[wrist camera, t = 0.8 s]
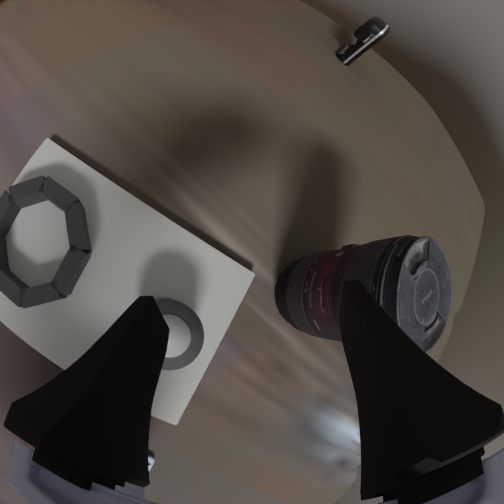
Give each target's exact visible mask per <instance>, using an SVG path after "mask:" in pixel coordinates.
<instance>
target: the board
mask: <svg viewBox="0 0 504 504" xmlns="http://www.w3.org/2000/svg"><path fill="white" fill-rule="evenodd" d="M254 276H255V274H254V273H253V272H251V271H250V270H248V269H246V268H245V267H243V266H242V265H240V264H239V263H237V262H235V261H234V260H232V259H231V258H229V257H227V256H226V255H224V254H223V253H221V252H220V251H218V250H216V249H215V248H213V247H212V246H210V245H208V244H207V243H205V242H204V241H202V240H201V239H199V238H198V237H196V236H194V235H193V234H191V233H190V232H188V231H187V230H185V229H183V228H182V227H180V226H179V225H177V224H176V223H174V222H173V221H171V220H170V219H168V218H166V217H165V216H163V215H162V214H160V213H159V212H157V211H156V210H154V209H153V208H151V207H150V206H148V205H147V204H145V203H144V202H142V201H140V200H139V199H137V198H136V197H134V196H133V195H131V194H130V193H128V192H127V191H125V190H124V189H122V188H121V187H119V186H118V185H116V184H115V183H113V182H112V181H110V180H109V179H107V178H106V177H104V176H103V175H101V174H100V173H98V172H97V171H95V170H94V169H92V168H91V167H89V166H88V165H86V164H85V163H84V162H82V161H81V160H79V159H78V158H76V157H75V156H73V155H72V154H70V153H69V152H67V151H66V150H64V149H63V148H62V147H60V146H59V145H57V144H56V143H54V142H53V141H51V140H50V139H49V138H47V139H46V140H45V141H44V142H43V143H42V145H41V146H40V147H39V148H38V150H37V151H36V152H35V154H34V155H33V156H32V158H31V159H30V160H29V162H28V163H27V164H26V166H25V167H24V169H23V170H22V172H21V173H20V174H19V176H18V177H17V179H16V180H15V182H14V184H13V185H12V186H10V187H9V191H8V192H7V191H6V190H5V191H4V193H3V195H2V196H1V198H0V321H1V322H2V323H3V324H4V325H6V326H7V327H8V328H9V329H10V330H11V331H12V332H14V333H15V334H16V335H17V336H18V337H20V338H21V339H22V340H23V341H25V342H26V343H27V344H29V345H30V346H31V347H32V348H34V349H35V350H36V351H38V352H39V353H40V354H42V355H43V356H45V357H46V358H47V359H49V360H50V361H52V362H53V363H55V364H56V365H58V366H59V367H61V368H62V369H64V370H66V369H67V368H68V367H69V366H71V365H72V364H73V363H74V362H75V361H76V360H78V359H79V358H80V357H81V356H82V355H83V354H84V353H85V352H86V351H87V350H88V349H89V348H90V347H91V346H92V345H93V344H94V343H95V342H96V341H97V340H98V339H99V338H100V337H101V336H102V335H103V334H104V333H105V332H106V331H107V330H108V329H109V328H110V327H111V325H112V324H113V323H114V322H115V321H116V320H117V319H118V318H119V317H120V316H121V315H122V314H123V313H124V312H125V310H126V309H127V308H128V307H129V306H130V305H131V304H132V303H133V302H134V301H135V300H136V299H137V298H138V297H139V296H153V297H154V298H157V297H168V298H172V299H174V300H177V301H179V302H181V303H183V304H185V305H187V306H188V307H190V308H191V309H192V310H193V311H194V312H195V313H196V314H197V316H198V317H199V319H200V321H201V323H202V325H203V330H204V342H203V346H202V349H201V351H200V353H199V355H198V356H197V358H196V359H195V360H194V361H193V362H192V363H190V364H189V365H187V366H185V367H183V368H181V369H177V370H161V373H160V377H159V380H158V384H157V387H156V391H155V395H154V399H153V404H152V410H151V416H153V417H156V418H158V419H161V420H163V421H166V422H169V423H171V424H174V425H177V423H178V421H179V420H180V418H181V416H182V414H183V412H184V410H185V408H186V406H187V405H188V403H189V401H190V399H191V397H192V395H193V393H194V391H195V390H196V388H197V386H198V384H199V382H200V380H201V378H202V376H203V375H204V373H205V371H206V369H207V367H208V365H209V363H210V361H211V359H212V357H213V355H214V354H215V352H216V350H217V348H218V346H219V344H220V342H221V340H222V338H223V336H224V334H225V332H226V331H227V329H228V327H229V325H230V323H231V321H232V319H233V317H234V315H235V313H236V311H237V309H238V307H239V305H240V303H241V301H242V300H243V298H244V296H245V294H246V292H247V290H248V288H249V286H250V284H251V282H252V280H253V278H254Z"/></svg>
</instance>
